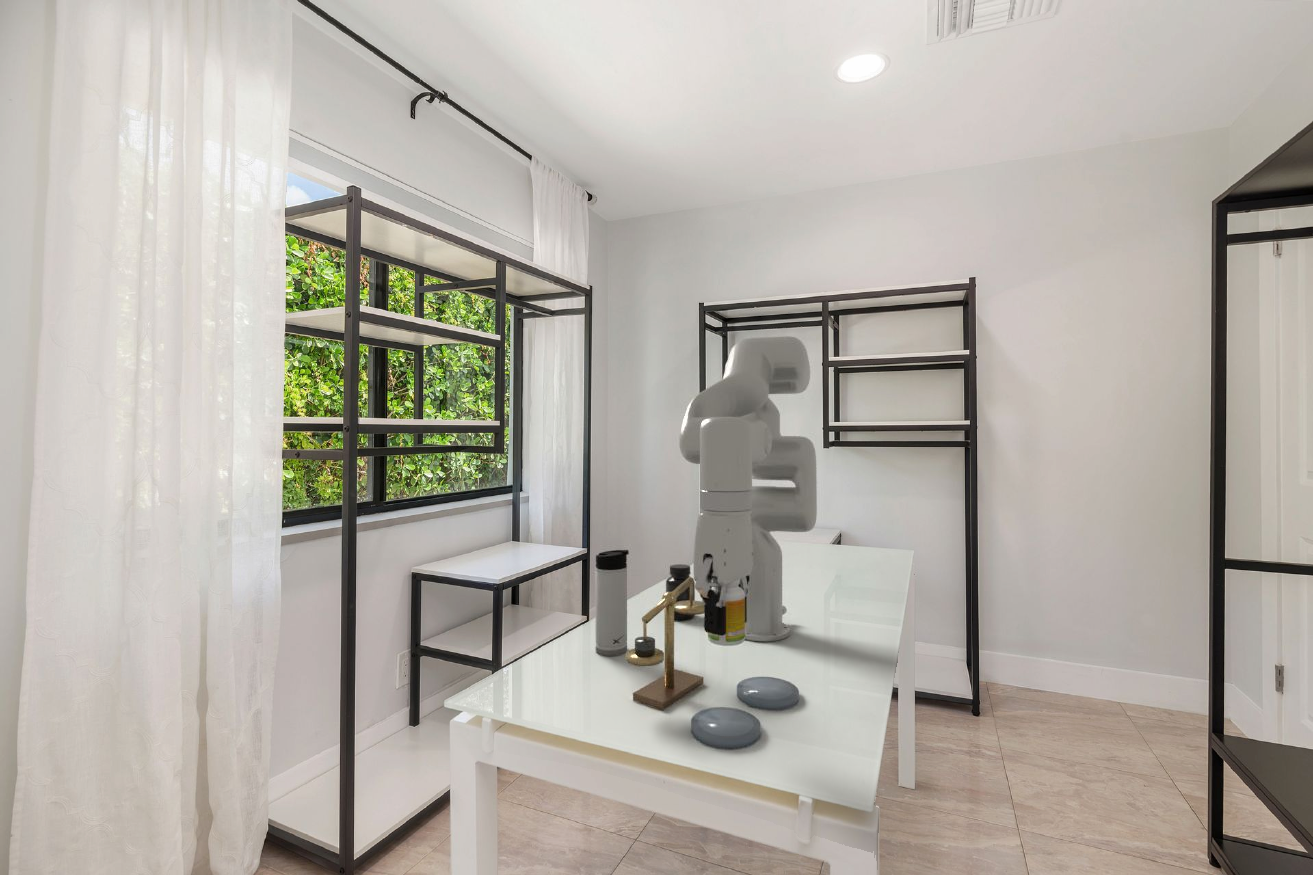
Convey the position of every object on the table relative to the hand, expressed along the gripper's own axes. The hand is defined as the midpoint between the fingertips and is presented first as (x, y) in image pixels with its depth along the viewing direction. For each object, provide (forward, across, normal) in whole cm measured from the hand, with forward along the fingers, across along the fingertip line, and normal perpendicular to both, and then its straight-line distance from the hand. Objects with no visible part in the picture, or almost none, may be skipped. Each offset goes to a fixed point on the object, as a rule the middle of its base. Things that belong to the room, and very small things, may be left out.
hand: (726, 626), depth 86 cm
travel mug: (+15, -15, -34) cm, 40 cm away
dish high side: (+15, -14, 0) cm, 21 cm away
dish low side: (+15, 0, 0) cm, 15 cm away
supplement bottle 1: (+16, -41, -35) cm, 56 cm away
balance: (+15, -6, -14) cm, 21 cm away
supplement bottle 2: (+2, 0, 0) cm, 2 cm away
